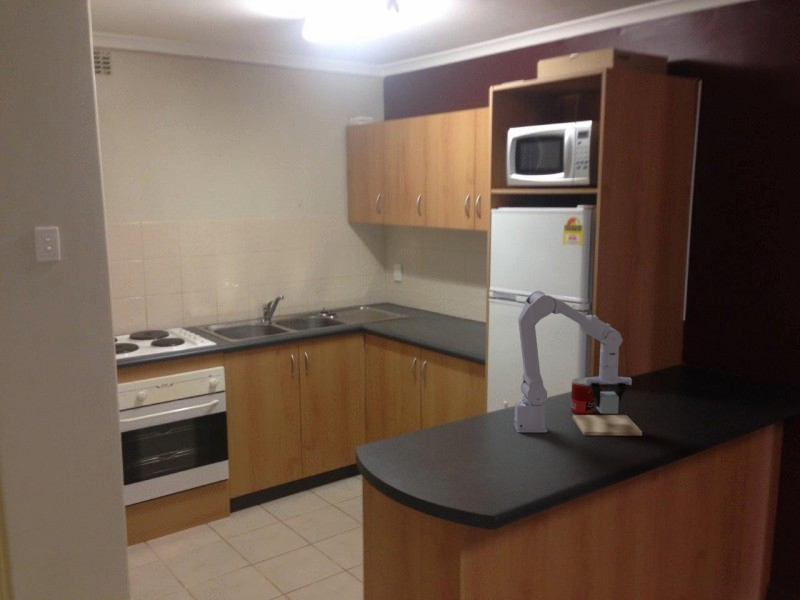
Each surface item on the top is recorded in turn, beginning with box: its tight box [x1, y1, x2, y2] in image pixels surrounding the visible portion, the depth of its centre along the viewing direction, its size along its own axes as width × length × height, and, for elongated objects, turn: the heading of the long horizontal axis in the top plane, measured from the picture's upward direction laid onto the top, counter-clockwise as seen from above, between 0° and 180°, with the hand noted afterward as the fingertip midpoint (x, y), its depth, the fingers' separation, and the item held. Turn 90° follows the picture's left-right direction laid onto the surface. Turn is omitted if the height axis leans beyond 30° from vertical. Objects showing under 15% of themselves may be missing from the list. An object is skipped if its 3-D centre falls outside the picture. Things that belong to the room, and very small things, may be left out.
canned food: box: [570, 377, 596, 415], centre depth 244 cm, size 8×8×11 cm
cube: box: [595, 391, 620, 414], centre depth 228 cm, size 6×6×6 cm
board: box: [572, 414, 643, 437], centre depth 230 cm, size 18×16×1 cm
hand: (607, 405), depth 229 cm, fingers closed on cube, 5 cm apart
